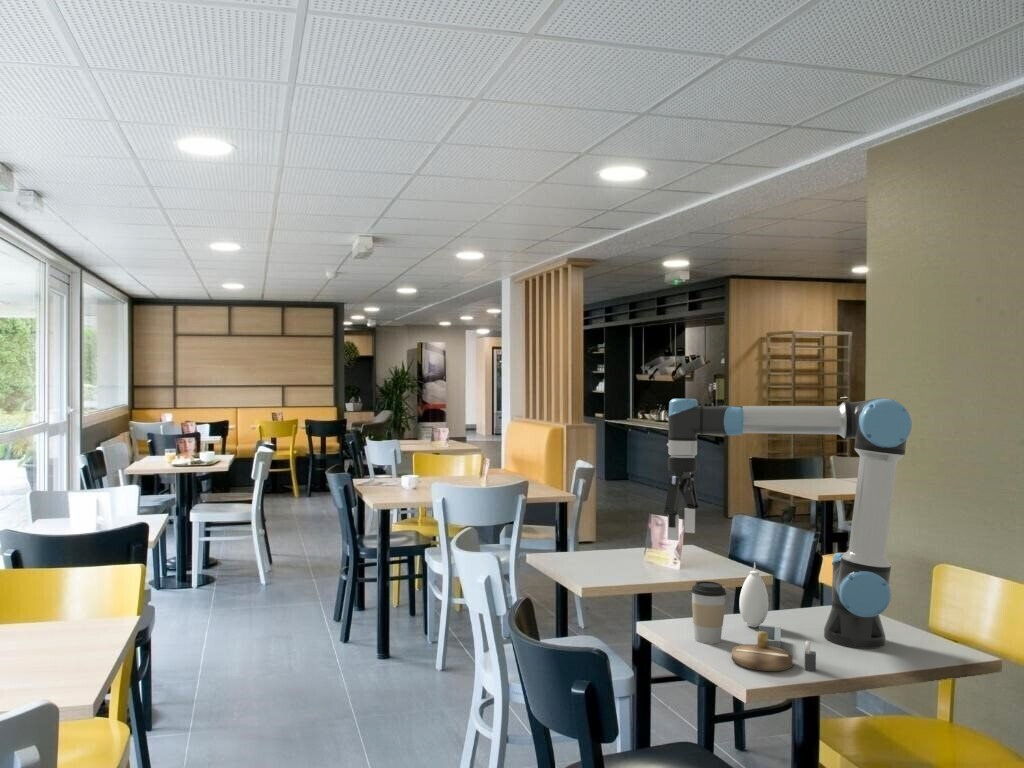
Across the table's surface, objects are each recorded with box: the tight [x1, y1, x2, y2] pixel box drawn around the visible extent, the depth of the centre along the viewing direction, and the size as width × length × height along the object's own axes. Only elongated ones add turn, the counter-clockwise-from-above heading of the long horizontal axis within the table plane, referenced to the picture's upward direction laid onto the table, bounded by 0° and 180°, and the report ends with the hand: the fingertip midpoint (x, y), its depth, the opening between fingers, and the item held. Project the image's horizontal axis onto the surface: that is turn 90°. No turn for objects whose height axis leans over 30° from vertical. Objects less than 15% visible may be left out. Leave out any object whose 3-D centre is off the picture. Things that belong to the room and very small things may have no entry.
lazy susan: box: [731, 630, 793, 672], centre depth 202 cm, size 14×14×5 cm
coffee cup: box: [690, 580, 727, 645], centre depth 220 cm, size 9×9×15 cm
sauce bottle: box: [738, 562, 769, 628], centre depth 234 cm, size 8×8×18 cm
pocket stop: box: [758, 624, 782, 649], centre depth 216 cm, size 6×14×4 cm, turn 162°
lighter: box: [804, 640, 817, 672], centre depth 198 cm, size 2×3×7 cm
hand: (681, 536), depth 223 cm, fingers open, 13 cm apart
